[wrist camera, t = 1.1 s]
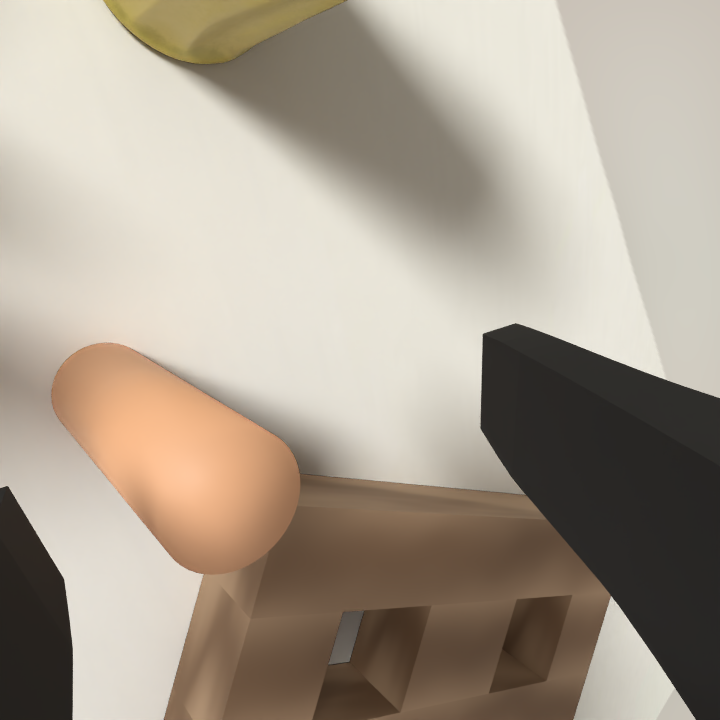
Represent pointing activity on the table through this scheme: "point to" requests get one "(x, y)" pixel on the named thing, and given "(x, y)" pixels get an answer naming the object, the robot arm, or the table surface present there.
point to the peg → (179, 458)
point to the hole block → (396, 613)
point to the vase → (211, 24)
